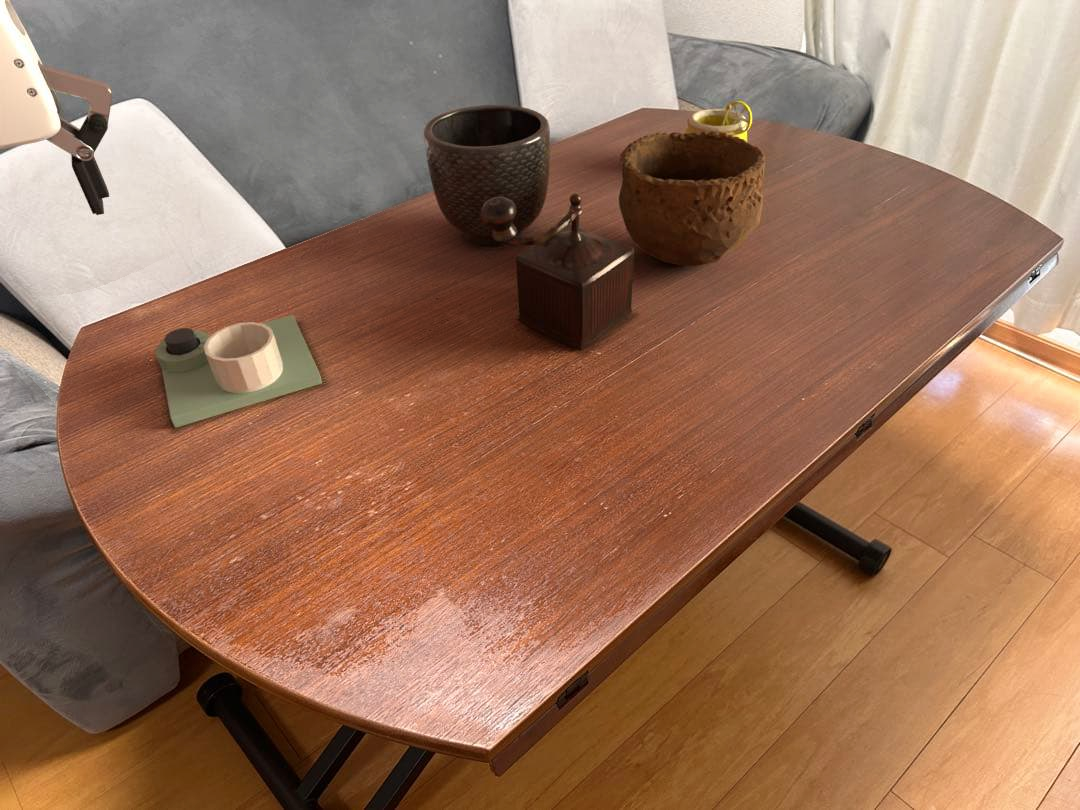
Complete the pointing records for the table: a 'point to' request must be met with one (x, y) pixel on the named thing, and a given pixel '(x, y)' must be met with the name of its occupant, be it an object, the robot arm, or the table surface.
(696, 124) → the mug
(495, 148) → the planter
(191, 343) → the tare button
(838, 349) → the table surface
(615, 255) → the pepper mill
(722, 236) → the bowl
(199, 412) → the scale
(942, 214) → the table surface
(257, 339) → the white bowl
